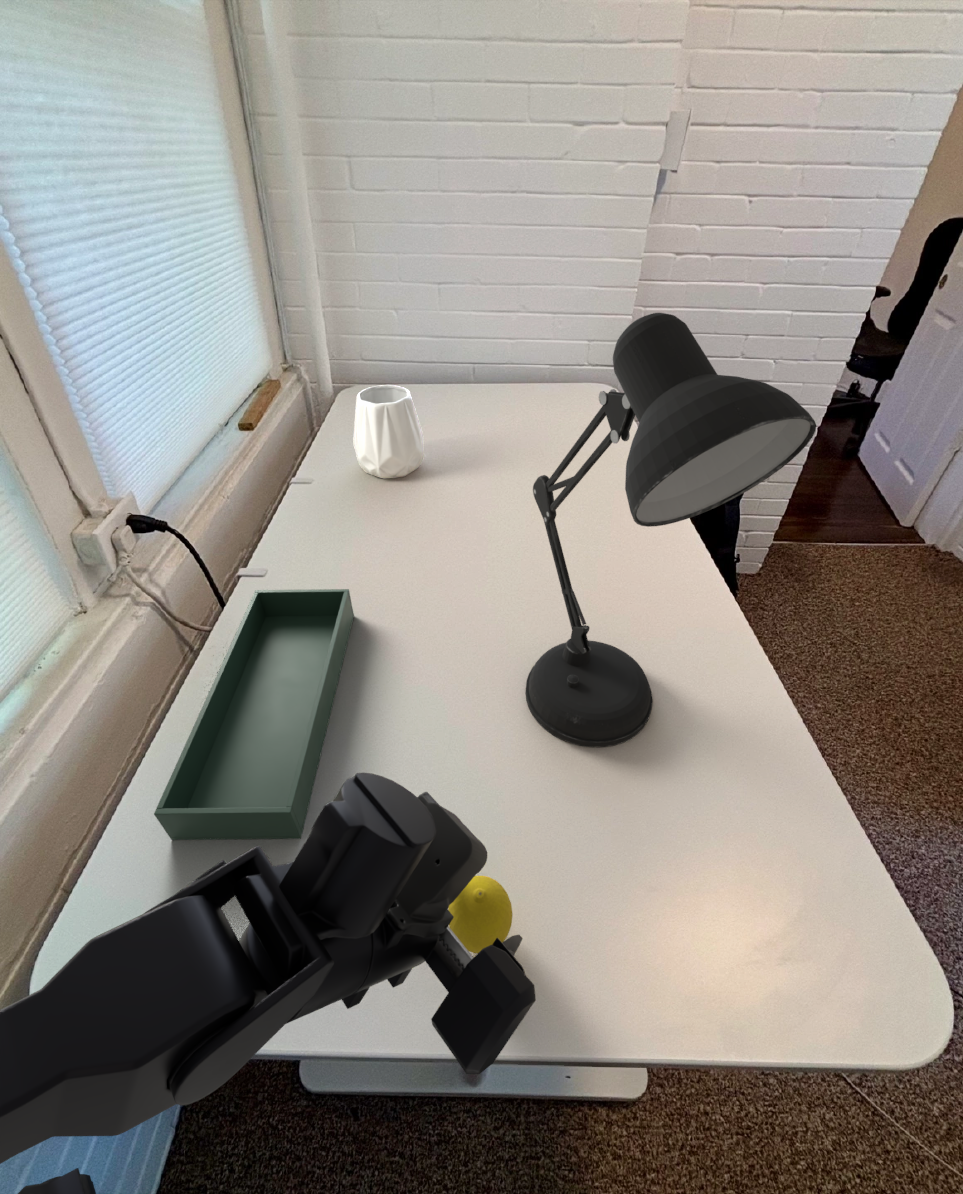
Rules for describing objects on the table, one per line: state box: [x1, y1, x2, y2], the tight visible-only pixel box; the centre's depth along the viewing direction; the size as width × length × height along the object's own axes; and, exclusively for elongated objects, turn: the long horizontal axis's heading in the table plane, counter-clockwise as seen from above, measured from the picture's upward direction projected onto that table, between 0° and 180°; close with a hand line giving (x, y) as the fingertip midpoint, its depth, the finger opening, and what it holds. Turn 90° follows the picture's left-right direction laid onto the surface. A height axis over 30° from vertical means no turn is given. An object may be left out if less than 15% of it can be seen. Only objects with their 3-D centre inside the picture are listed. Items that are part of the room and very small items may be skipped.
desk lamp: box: [525, 312, 817, 748], centre depth 59 cm, size 24×26×45 cm
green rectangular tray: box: [153, 588, 355, 841], centre depth 72 cm, size 34×13×5 cm, turn 0°
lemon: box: [448, 875, 513, 954], centre depth 50 cm, size 6×6×8 cm
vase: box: [352, 384, 425, 479], centre depth 117 cm, size 14×14×15 cm
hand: (478, 895), depth 48 cm, fingers open, 9 cm apart
